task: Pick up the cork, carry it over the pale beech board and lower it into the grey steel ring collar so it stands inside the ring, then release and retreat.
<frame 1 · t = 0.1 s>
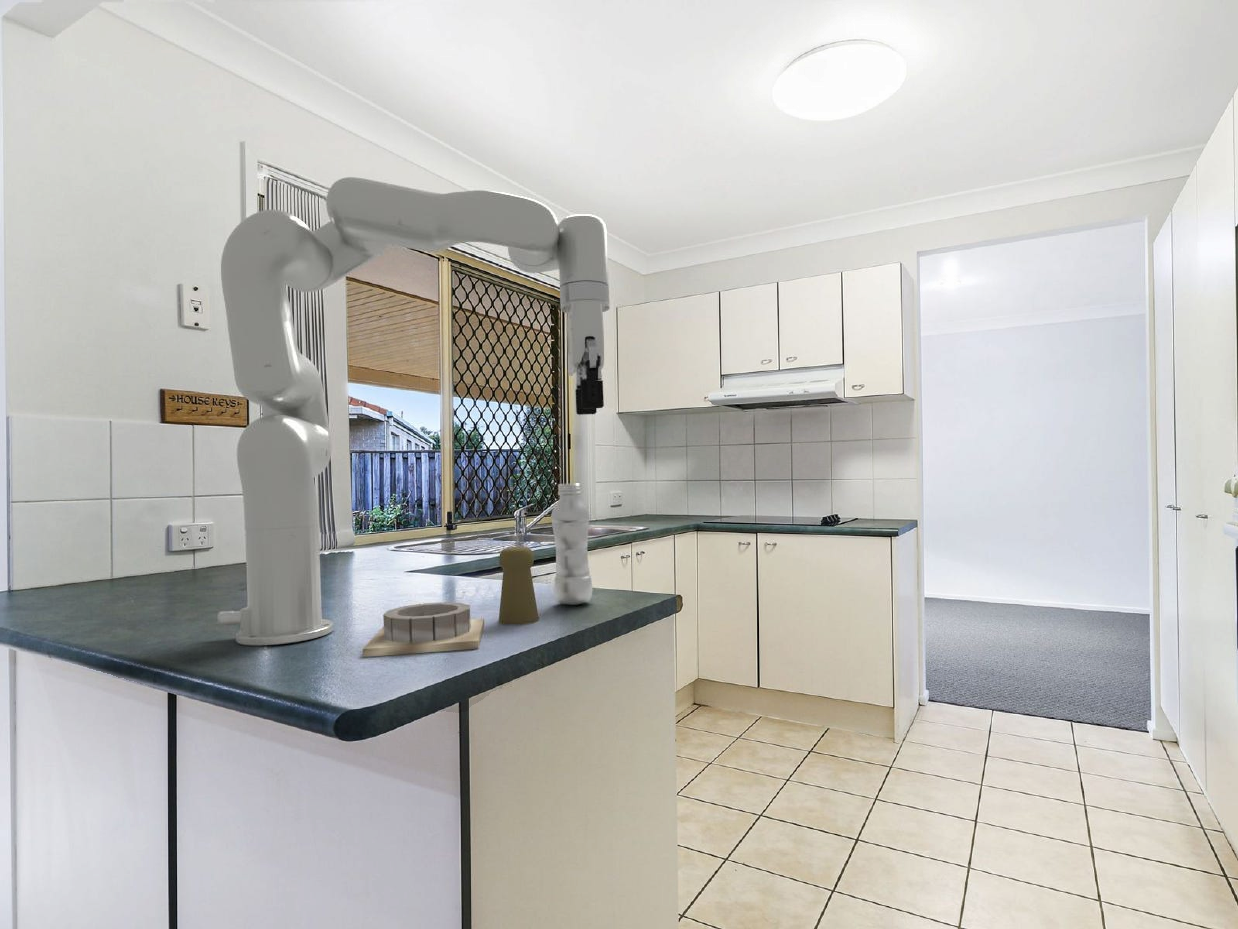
hand: (589, 411, 106), 31 cm above the countertop, fingers open, 9 cm apart
ring collar: (428, 639, 94), on the countertop
plastic bottle: (573, 605, 116), on the countertop
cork: (518, 621, 104), on the countertop
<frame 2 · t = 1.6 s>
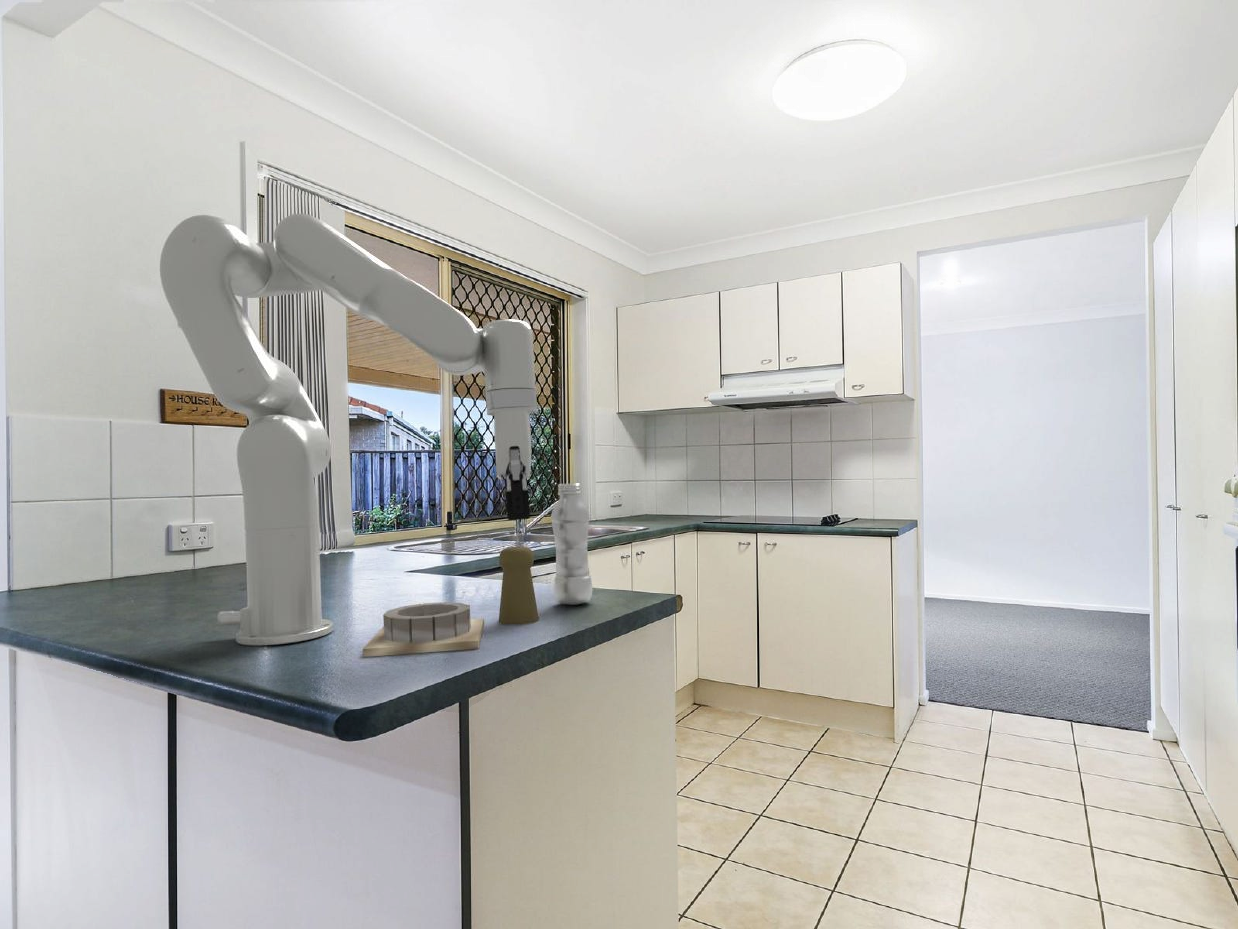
hand: (518, 517, 105), 15 cm above the countertop, fingers open, 9 cm apart
nothing on the countertop moved.
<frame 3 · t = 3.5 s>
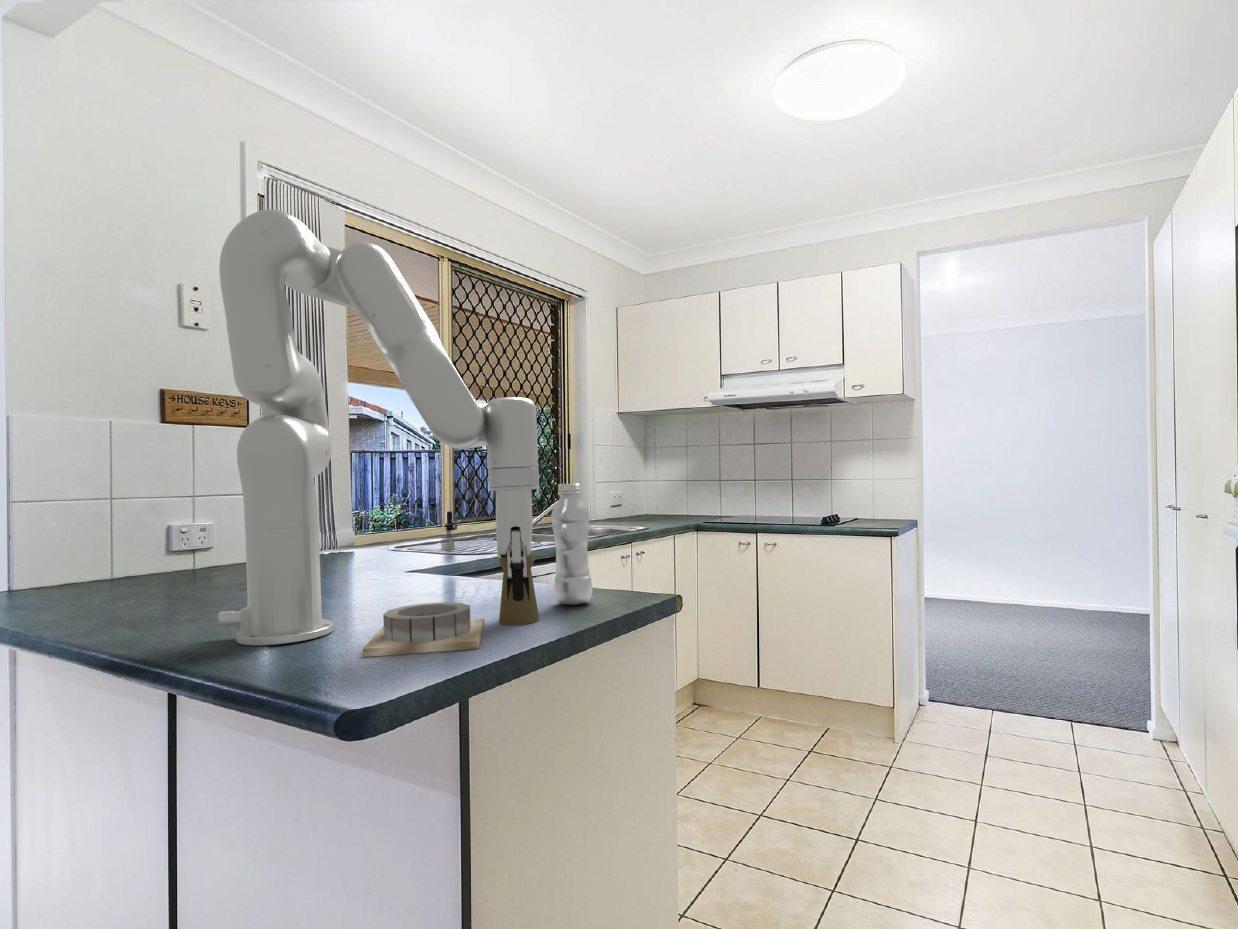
hand: (518, 601, 104), 3 cm above the countertop, fingers closed on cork, 3 cm apart
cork: (519, 622, 104), on the countertop, touching gripper
everything else where it was.
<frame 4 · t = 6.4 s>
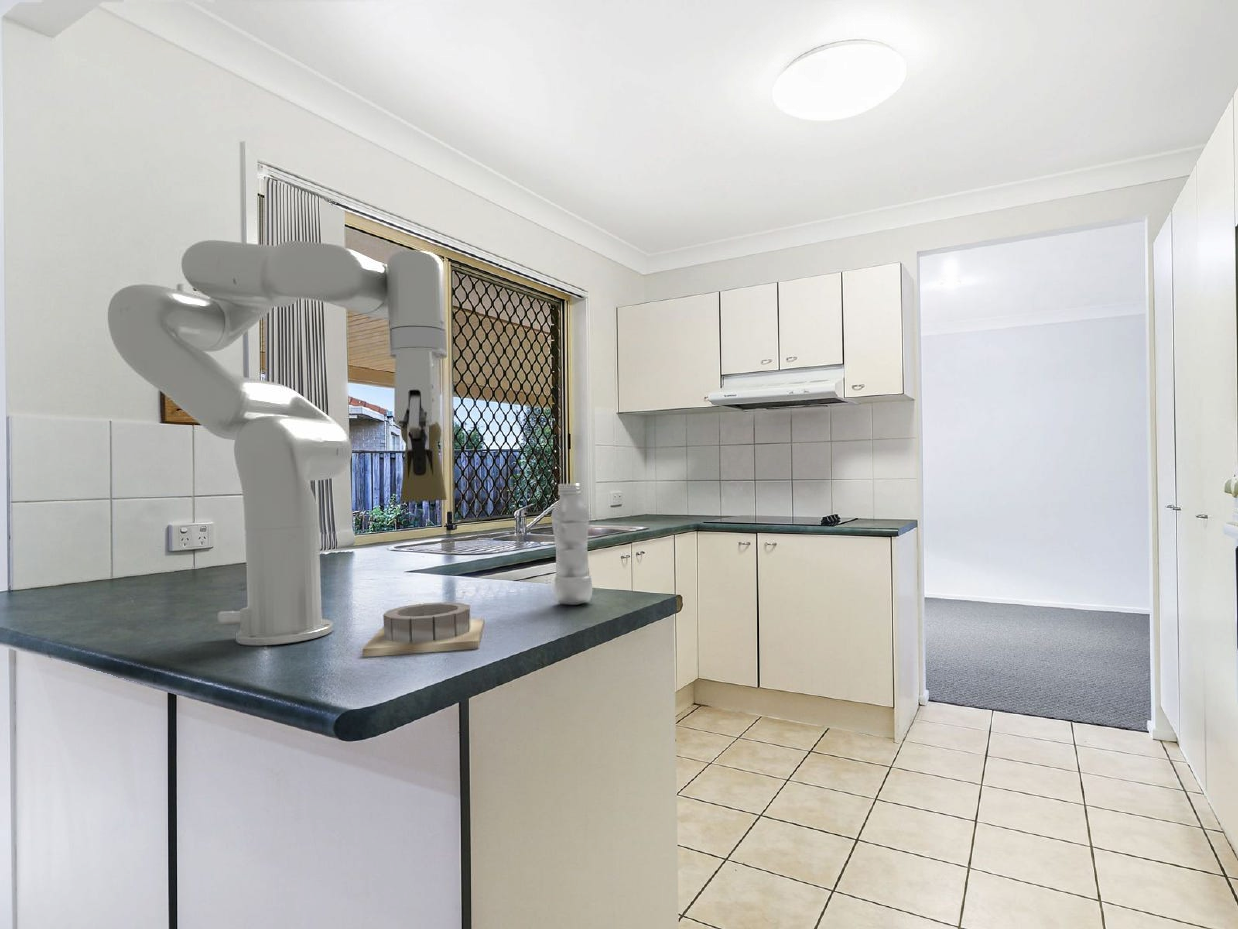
hand: (423, 479, 94), 22 cm above the countertop, fingers closed on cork, 3 cm apart
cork: (423, 502, 94), point 19 cm above the countertop, touching gripper
everything else where it was.
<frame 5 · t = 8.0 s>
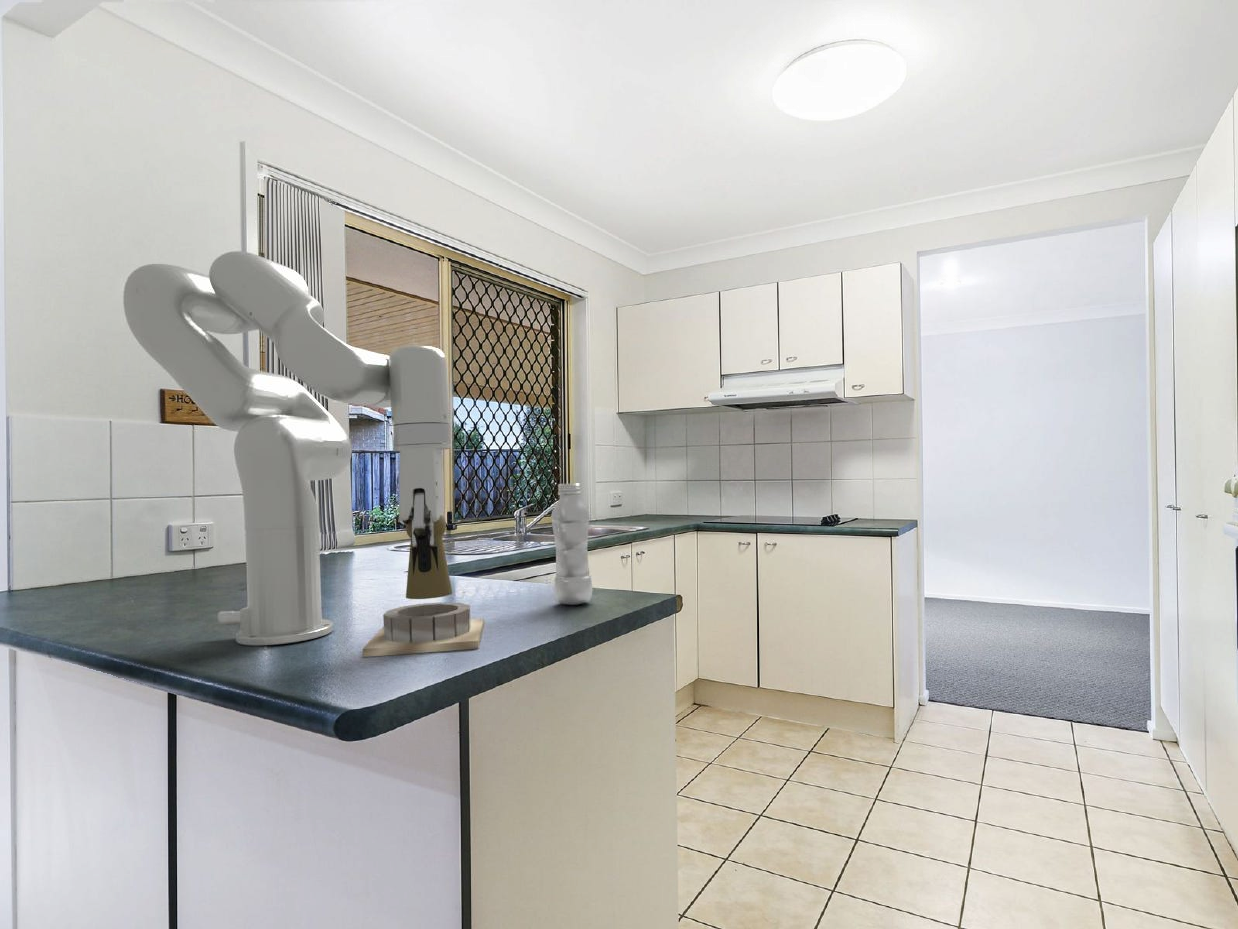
hand: (428, 573, 94), 9 cm above the countertop, fingers closed on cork, 3 cm apart
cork: (429, 596, 94), point 6 cm above the countertop, touching gripper
everything else where it was.
when the fingers open (5 cm above the countertop, at t = 9.5 s): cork stays where it is, resting on ring collar.
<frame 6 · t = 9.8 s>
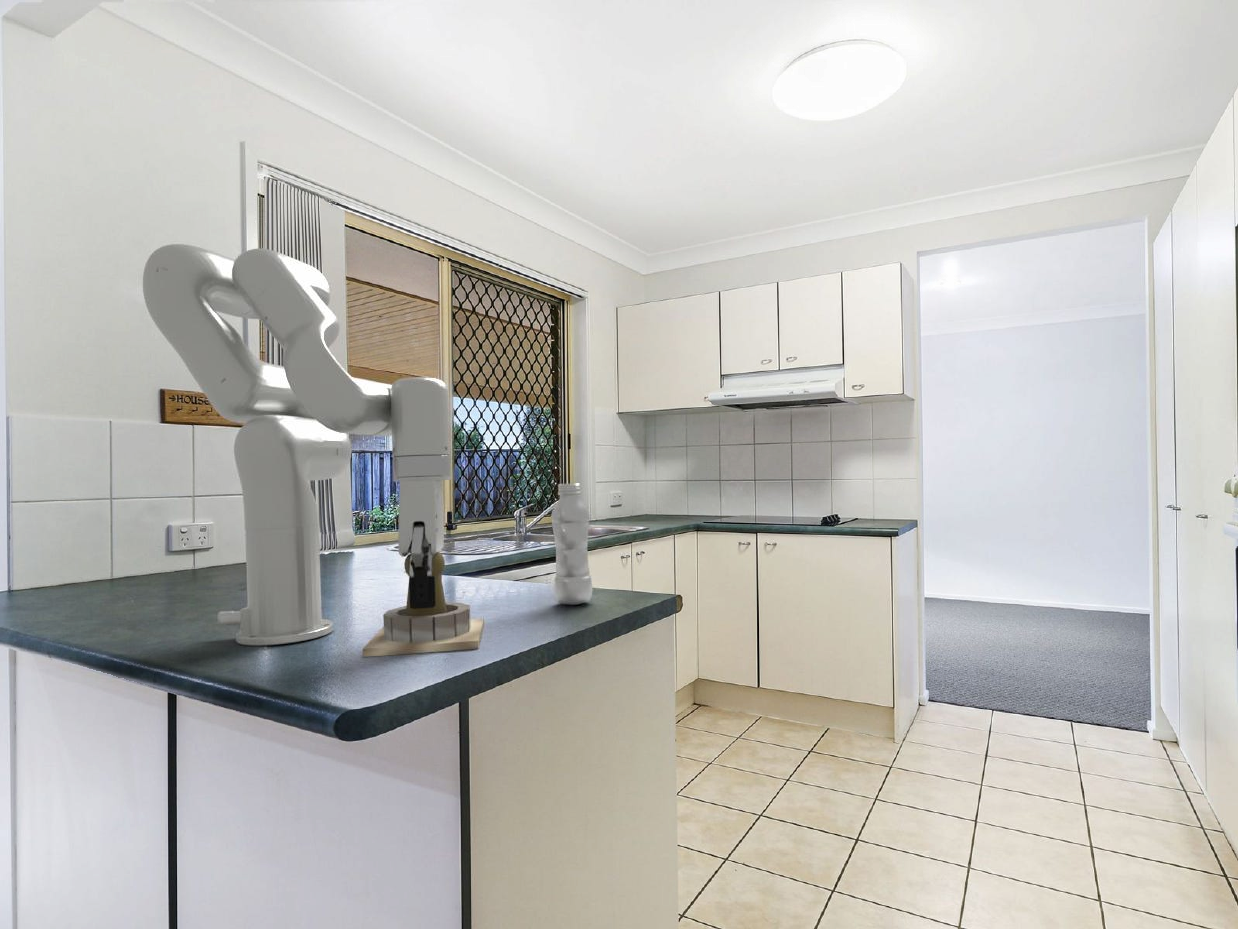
hand: (426, 601, 94), 5 cm above the countertop, fingers open, 6 cm apart
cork: (427, 635, 93), point 1 cm above the countertop, touching ring collar
everything else where it was.
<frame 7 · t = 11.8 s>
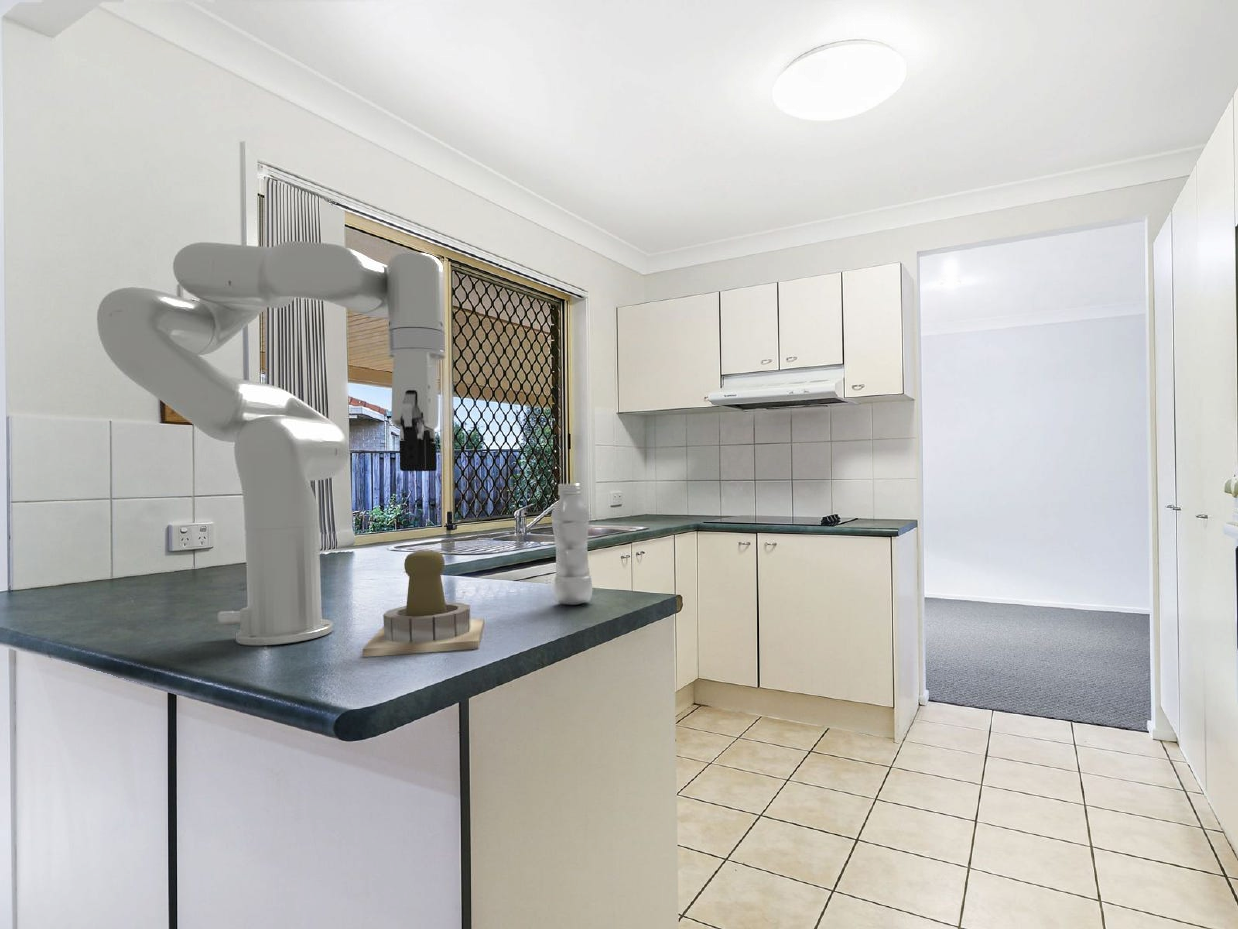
hand: (419, 470, 96), 23 cm above the countertop, fingers open, 9 cm apart
nothing on the countertop moved.
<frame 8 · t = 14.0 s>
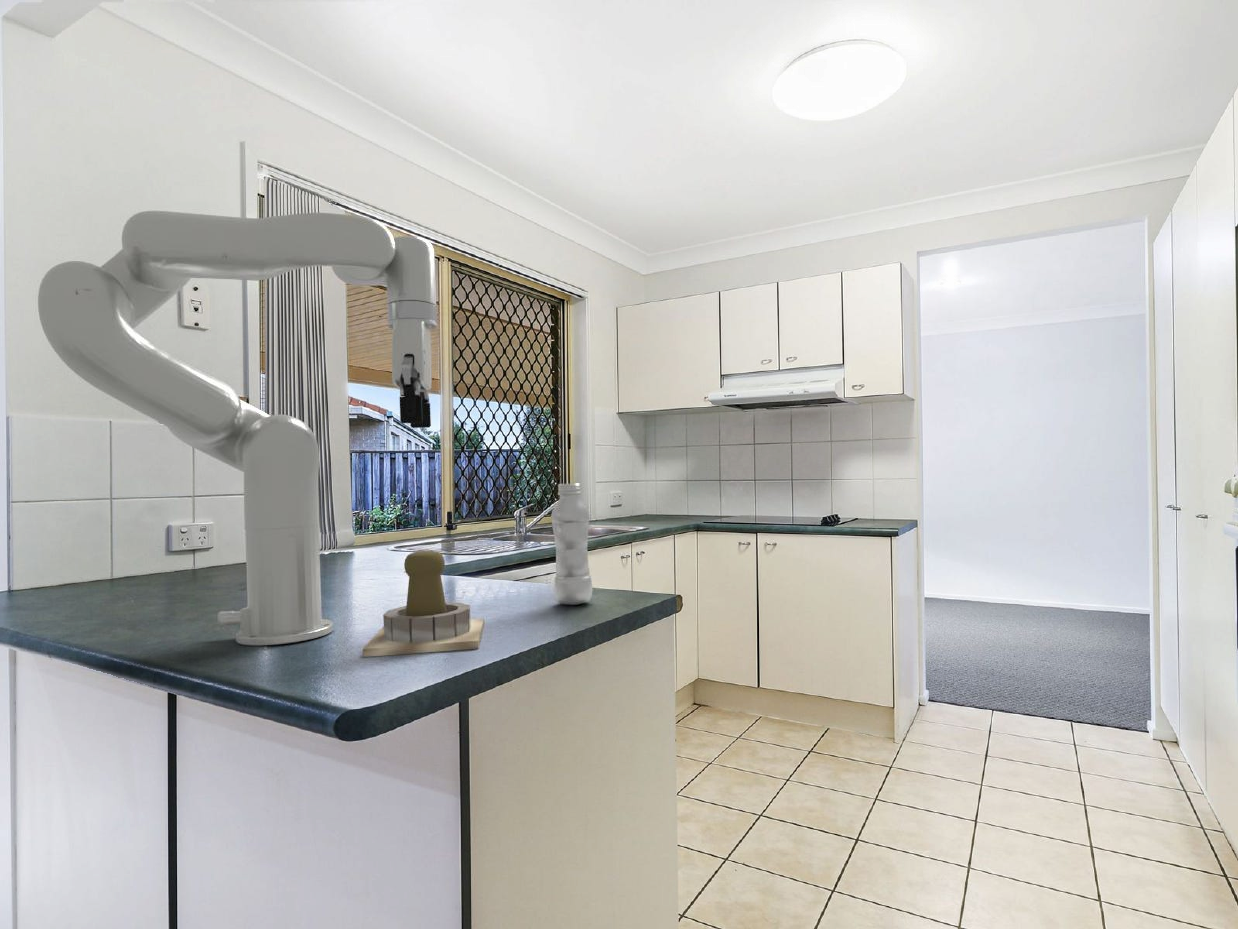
hand: (416, 425, 111), 30 cm above the countertop, fingers open, 9 cm apart
nothing on the countertop moved.
at the end: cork 0.7 cm off-centre on the ring collar, point 0.8 cm above the ring collar's base; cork tilted 0°; the gripper is holding nothing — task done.
